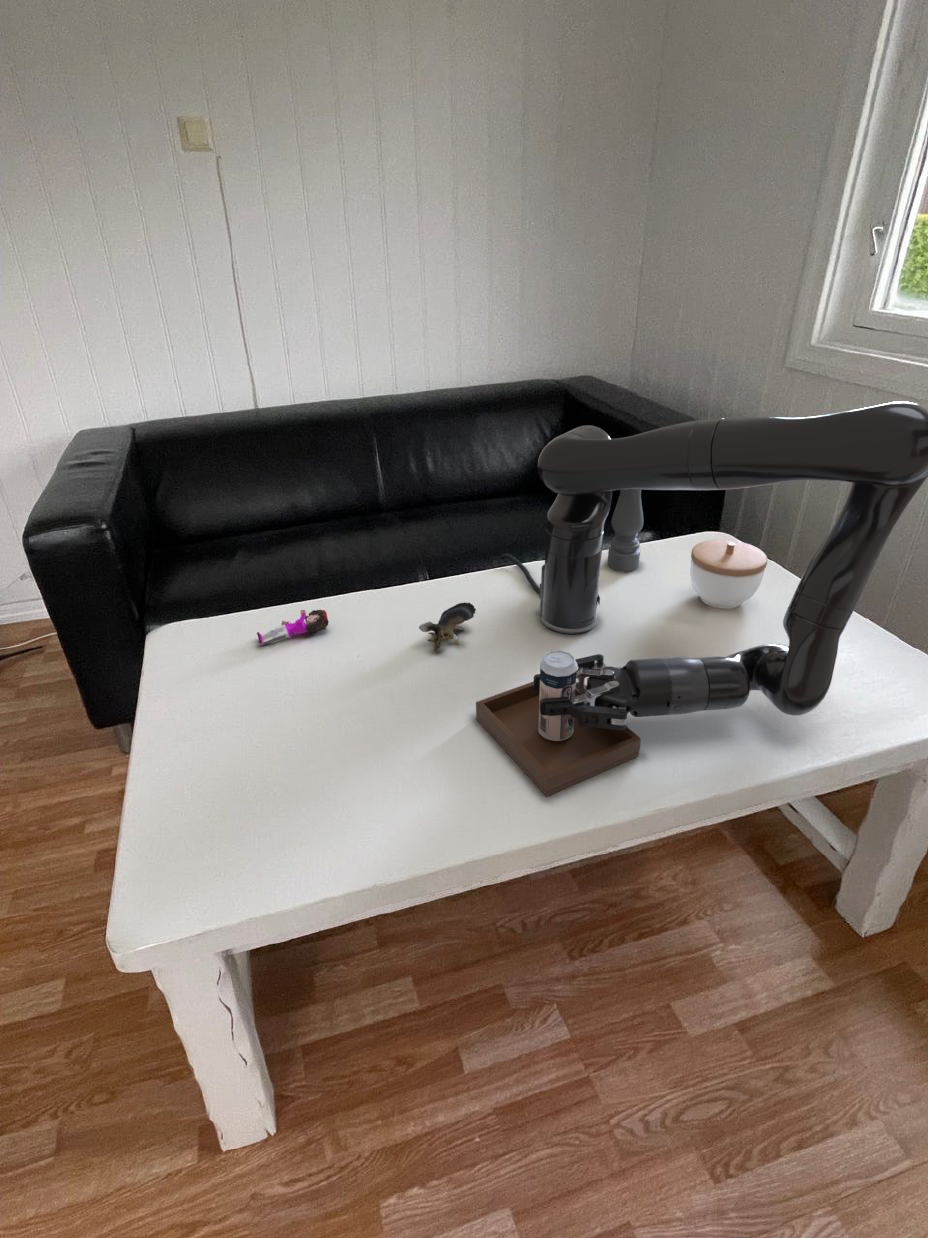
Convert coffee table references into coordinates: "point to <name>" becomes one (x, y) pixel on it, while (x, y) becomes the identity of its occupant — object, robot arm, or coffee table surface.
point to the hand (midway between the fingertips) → (537, 694)
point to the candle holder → (626, 532)
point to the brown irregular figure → (449, 624)
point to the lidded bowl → (726, 572)
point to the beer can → (557, 692)
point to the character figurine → (297, 627)
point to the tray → (548, 760)
